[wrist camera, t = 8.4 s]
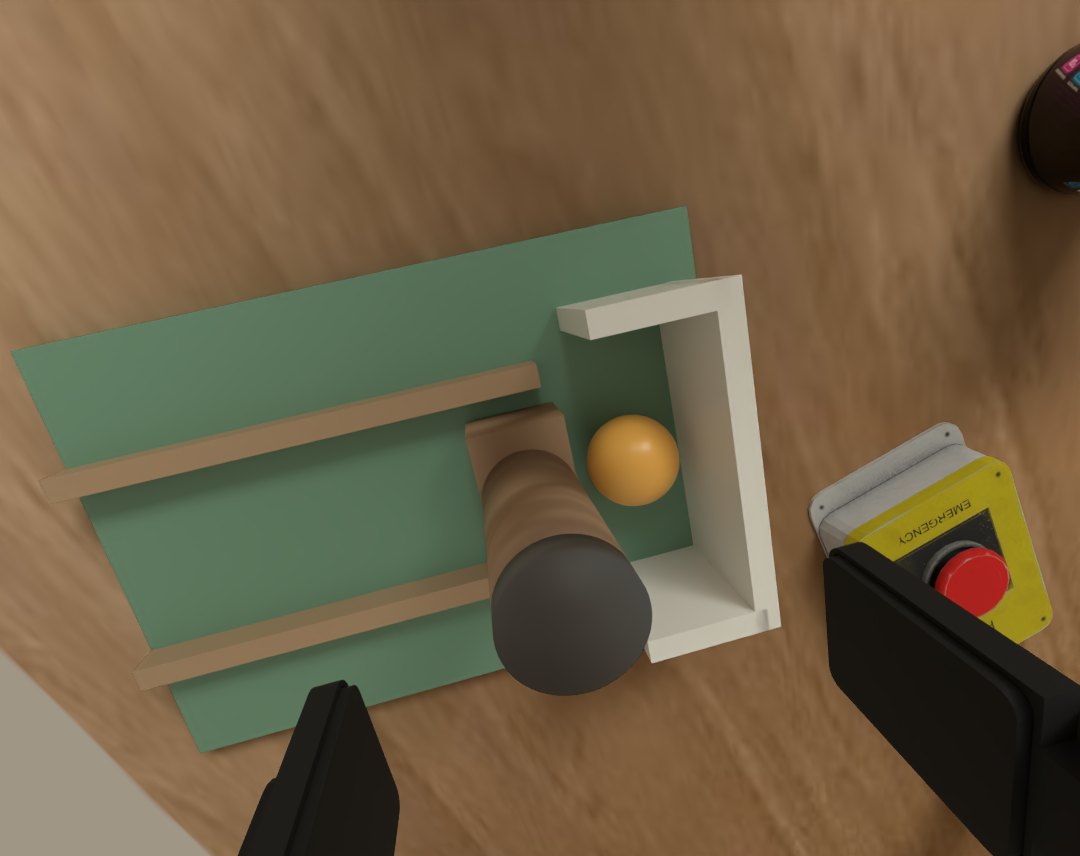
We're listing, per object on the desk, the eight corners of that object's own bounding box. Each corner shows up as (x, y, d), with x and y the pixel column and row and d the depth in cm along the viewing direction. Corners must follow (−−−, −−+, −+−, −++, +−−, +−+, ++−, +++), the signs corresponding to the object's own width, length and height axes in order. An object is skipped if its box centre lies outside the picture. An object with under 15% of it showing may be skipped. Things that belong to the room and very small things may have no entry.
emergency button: (1027, 432, 25) (1092, 664, 29) (945, 412, 29) (1012, 617, 33) (853, 531, 25) (942, 749, 29) (796, 497, 29) (881, 692, 33)
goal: (674, 280, 24) (741, 274, 18) (714, 557, 27) (781, 626, 22) (555, 307, 23) (584, 310, 18) (611, 585, 27) (651, 663, 21)
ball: (691, 411, 21) (601, 439, 20) (704, 502, 22) (619, 532, 21) (643, 398, 25) (565, 421, 24) (656, 476, 26) (582, 501, 25)
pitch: (677, 209, 24) (701, 199, 22) (730, 593, 29) (754, 619, 27) (30, 349, 22) (-24, 355, 19) (209, 737, 27) (184, 780, 25)
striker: (551, 401, 24) (631, 494, 13) (577, 521, 26) (669, 702, 14) (465, 422, 24) (464, 537, 12) (496, 542, 25) (521, 745, 14)
